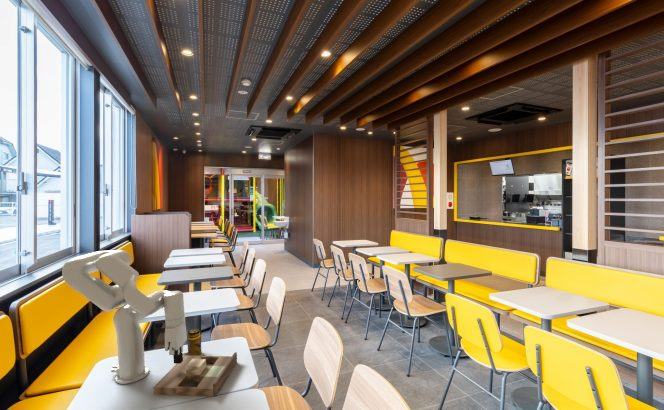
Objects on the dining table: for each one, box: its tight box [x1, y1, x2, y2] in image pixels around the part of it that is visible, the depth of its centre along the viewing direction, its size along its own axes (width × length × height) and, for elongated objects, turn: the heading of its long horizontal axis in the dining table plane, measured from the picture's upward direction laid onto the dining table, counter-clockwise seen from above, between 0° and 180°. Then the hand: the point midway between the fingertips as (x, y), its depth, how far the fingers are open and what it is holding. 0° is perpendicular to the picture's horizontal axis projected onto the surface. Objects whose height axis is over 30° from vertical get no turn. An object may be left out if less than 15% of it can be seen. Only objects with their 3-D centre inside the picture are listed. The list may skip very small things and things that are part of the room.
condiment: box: [182, 328, 204, 356], centre depth 159 cm, size 7×8×12 cm
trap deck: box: [153, 351, 238, 397], centre depth 141 cm, size 25×24×5 cm
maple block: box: [186, 359, 206, 375], centre depth 141 cm, size 6×6×4 cm
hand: (178, 362), depth 141 cm, fingers closed
